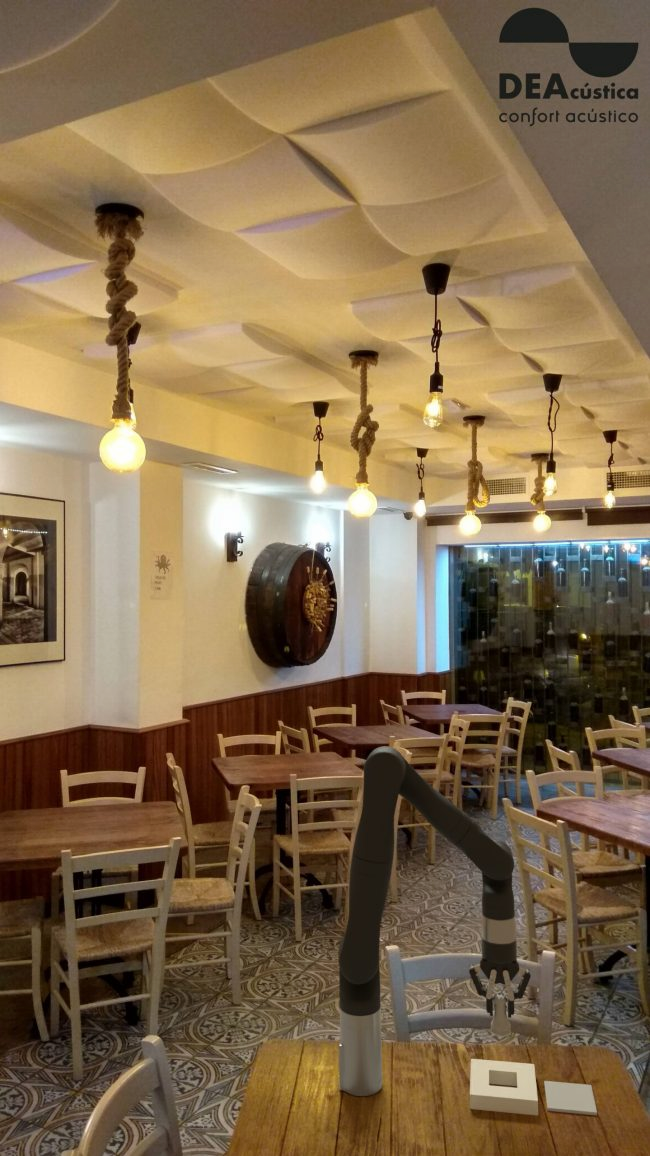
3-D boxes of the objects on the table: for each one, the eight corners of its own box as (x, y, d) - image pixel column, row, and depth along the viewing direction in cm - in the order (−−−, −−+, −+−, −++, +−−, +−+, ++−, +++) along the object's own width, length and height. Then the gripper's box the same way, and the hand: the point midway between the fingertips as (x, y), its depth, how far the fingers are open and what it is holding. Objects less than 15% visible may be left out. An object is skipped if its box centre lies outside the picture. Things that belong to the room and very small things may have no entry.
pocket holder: (470, 1108, 173) (469, 1094, 173) (471, 1072, 187) (471, 1058, 187) (538, 1115, 171) (537, 1100, 171) (534, 1077, 184) (534, 1064, 184)
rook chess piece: (511, 1038, 177) (510, 1000, 177) (490, 1036, 178) (489, 998, 178) (511, 1027, 181) (510, 991, 181) (490, 1026, 182) (489, 989, 182)
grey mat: (547, 1110, 172) (547, 1107, 172) (544, 1083, 182) (544, 1080, 182) (597, 1115, 170) (597, 1112, 170) (591, 1087, 180) (591, 1084, 180)
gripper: (465, 940, 178) (467, 1021, 177) (532, 944, 175) (534, 1026, 174) (466, 927, 185) (468, 1004, 185) (530, 930, 183) (532, 1009, 182)
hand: (500, 1014), depth 180 cm, fingers closed on rook chess piece, 3 cm apart
